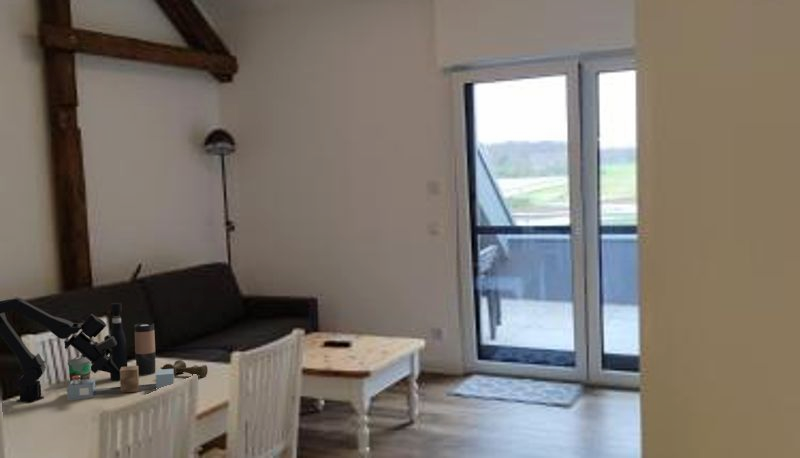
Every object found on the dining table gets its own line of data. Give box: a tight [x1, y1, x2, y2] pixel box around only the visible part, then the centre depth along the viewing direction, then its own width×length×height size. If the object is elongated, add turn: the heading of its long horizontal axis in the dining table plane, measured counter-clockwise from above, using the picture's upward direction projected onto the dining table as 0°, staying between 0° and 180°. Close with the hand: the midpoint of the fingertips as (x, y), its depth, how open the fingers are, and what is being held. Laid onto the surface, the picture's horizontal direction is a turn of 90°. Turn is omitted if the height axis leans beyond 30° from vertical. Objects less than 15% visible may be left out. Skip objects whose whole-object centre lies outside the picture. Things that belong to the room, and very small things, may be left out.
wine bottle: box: [108, 302, 128, 381], centre depth 284 cm, size 6×6×30 cm
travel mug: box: [134, 322, 156, 376], centre depth 292 cm, size 8×8×20 cm
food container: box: [67, 354, 91, 382], centre depth 282 cm, size 12×6×10 cm, turn 179°
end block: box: [155, 369, 175, 390], centre depth 270 cm, size 6×8×6 cm
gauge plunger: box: [72, 375, 81, 385], centre depth 261 cm, size 3×3×5 cm
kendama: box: [159, 359, 209, 379], centre depth 287 cm, size 6×10×20 cm
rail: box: [93, 383, 157, 396], centre depth 266 cm, size 22×3×2 cm, turn 106°
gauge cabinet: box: [66, 378, 96, 401], centre depth 262 cm, size 8×10×4 cm
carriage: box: [119, 365, 140, 394], centre depth 266 cm, size 6×6×8 cm
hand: (119, 373), depth 265 cm, fingers closed
